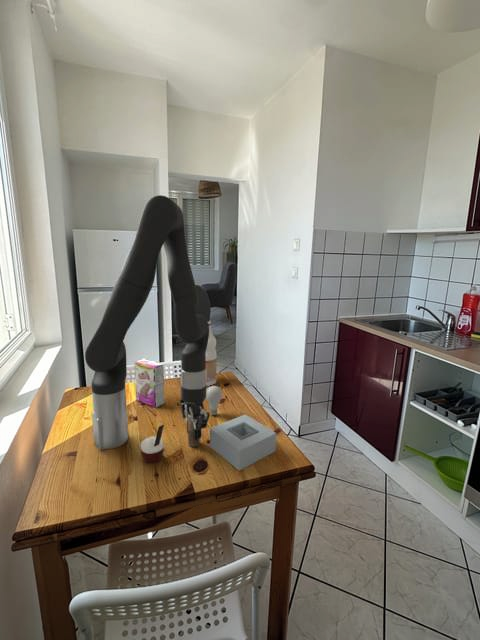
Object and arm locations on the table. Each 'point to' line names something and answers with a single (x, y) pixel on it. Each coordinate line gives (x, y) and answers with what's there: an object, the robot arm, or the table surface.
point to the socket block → (242, 441)
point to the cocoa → (153, 447)
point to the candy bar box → (149, 382)
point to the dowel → (192, 433)
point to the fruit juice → (211, 358)
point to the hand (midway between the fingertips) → (194, 435)
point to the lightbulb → (213, 398)
